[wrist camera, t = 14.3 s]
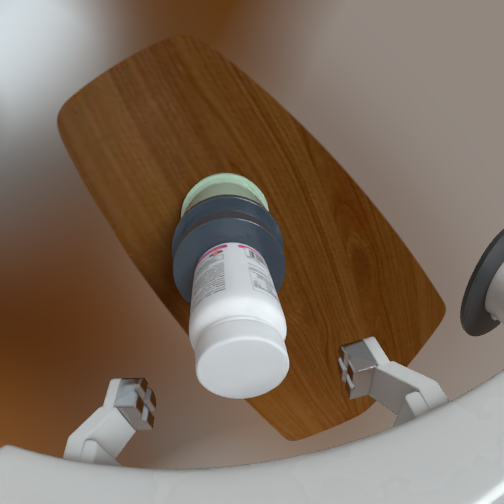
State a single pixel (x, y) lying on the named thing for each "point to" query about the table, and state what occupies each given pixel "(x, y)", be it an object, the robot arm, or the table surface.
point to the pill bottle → (237, 323)
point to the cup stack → (224, 227)
